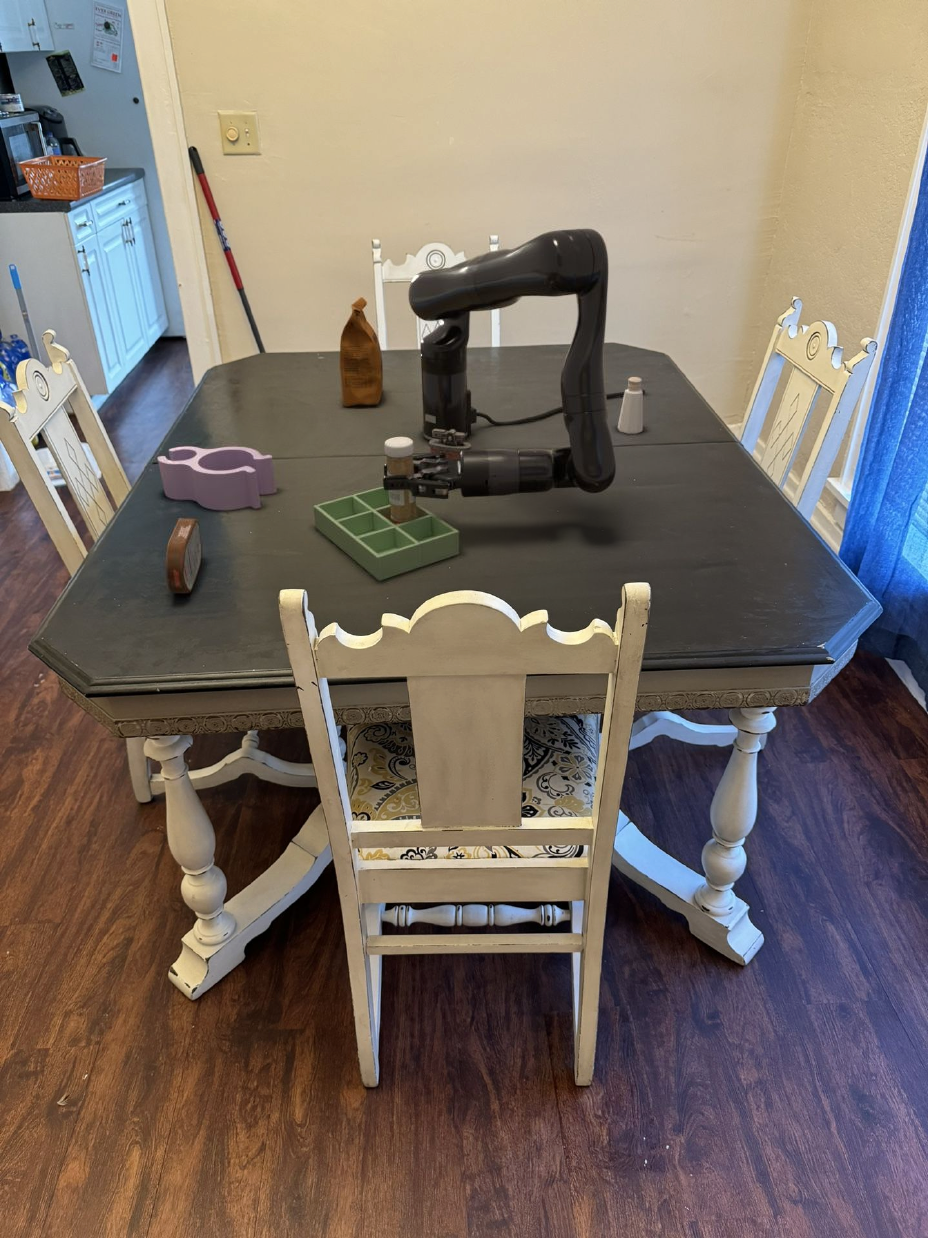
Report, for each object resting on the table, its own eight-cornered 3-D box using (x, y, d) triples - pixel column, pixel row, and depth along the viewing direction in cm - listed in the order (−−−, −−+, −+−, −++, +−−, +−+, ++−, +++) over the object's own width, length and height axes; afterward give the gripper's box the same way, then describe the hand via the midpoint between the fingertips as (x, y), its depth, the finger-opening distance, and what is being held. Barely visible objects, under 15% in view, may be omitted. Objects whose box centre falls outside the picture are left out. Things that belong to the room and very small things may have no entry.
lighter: (473, 480, 164) (473, 429, 158) (467, 487, 161) (467, 436, 156) (433, 474, 166) (432, 424, 161) (427, 481, 164) (425, 431, 158)
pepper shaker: (614, 432, 184) (619, 380, 178) (620, 423, 188) (625, 373, 182) (639, 435, 182) (645, 383, 176) (645, 426, 187) (650, 376, 180)
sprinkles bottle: (422, 519, 143) (418, 441, 136) (398, 526, 141) (393, 448, 134) (408, 509, 147) (404, 433, 139) (385, 516, 145) (379, 439, 137)
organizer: (390, 505, 155) (389, 484, 153) (459, 553, 140) (458, 531, 138) (315, 527, 148) (313, 505, 146) (379, 580, 133) (377, 557, 131)
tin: (188, 555, 140) (178, 508, 136) (208, 554, 140) (199, 507, 136) (170, 605, 128) (158, 554, 123) (191, 603, 128) (181, 553, 123)
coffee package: (389, 391, 207) (384, 295, 195) (380, 409, 197) (374, 309, 185) (348, 390, 208) (340, 295, 196) (337, 408, 198) (328, 308, 186)
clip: (152, 502, 157) (144, 466, 153) (188, 474, 167) (181, 440, 163) (252, 514, 153) (247, 477, 149) (283, 485, 163) (278, 450, 159)
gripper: (486, 434, 144) (383, 438, 144) (493, 468, 132) (380, 473, 132) (486, 476, 148) (386, 480, 148) (493, 513, 136) (384, 517, 136)
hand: (384, 476), depth 140 cm, fingers closed on sprinkles bottle, 4 cm apart
